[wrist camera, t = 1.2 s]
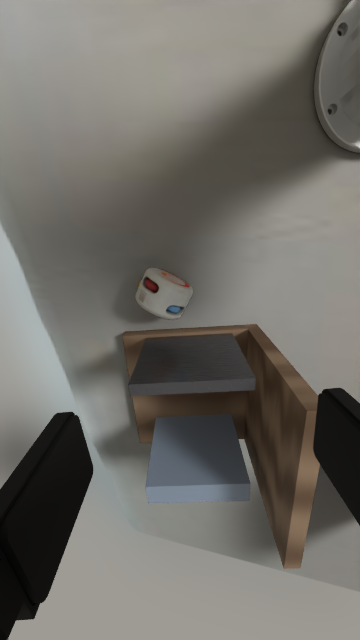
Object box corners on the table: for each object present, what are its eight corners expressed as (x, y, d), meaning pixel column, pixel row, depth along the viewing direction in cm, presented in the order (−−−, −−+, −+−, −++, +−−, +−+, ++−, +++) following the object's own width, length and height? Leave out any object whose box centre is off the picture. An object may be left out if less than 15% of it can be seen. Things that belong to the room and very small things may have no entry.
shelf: (125, 331, 31) (68, 421, 16) (256, 324, 30) (330, 410, 15) (141, 435, 37) (112, 571, 22) (251, 430, 36) (300, 568, 21)
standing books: (156, 417, 34) (145, 486, 24) (231, 414, 33) (250, 483, 24) (159, 441, 35) (150, 516, 26) (231, 438, 35) (248, 513, 25)
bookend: (145, 337, 29) (128, 384, 20) (232, 332, 29) (255, 378, 20) (147, 346, 30) (130, 396, 20) (232, 341, 29) (255, 390, 20)
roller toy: (179, 315, 30) (178, 332, 24) (134, 293, 29) (123, 306, 24) (195, 285, 29) (198, 296, 23) (148, 261, 28) (140, 267, 22)
